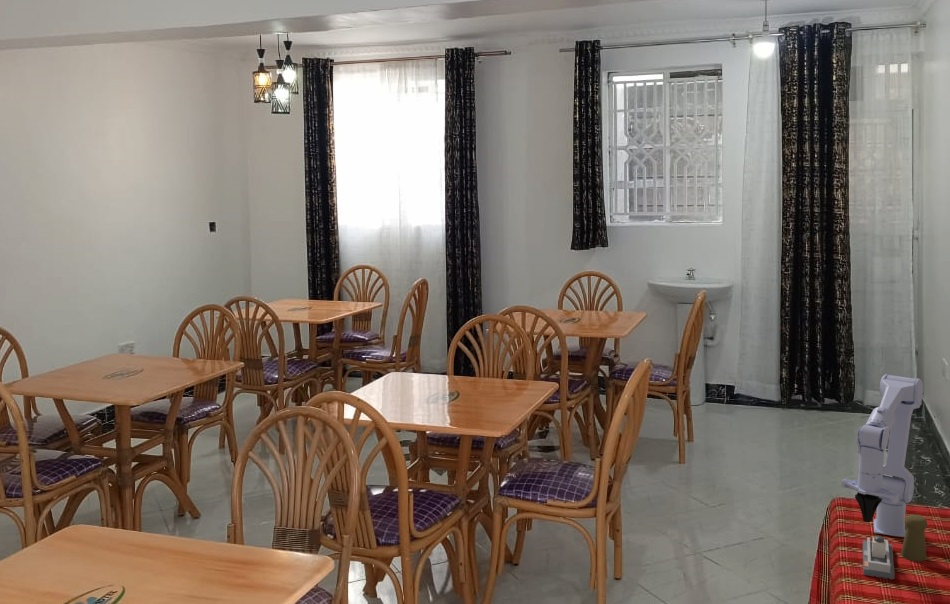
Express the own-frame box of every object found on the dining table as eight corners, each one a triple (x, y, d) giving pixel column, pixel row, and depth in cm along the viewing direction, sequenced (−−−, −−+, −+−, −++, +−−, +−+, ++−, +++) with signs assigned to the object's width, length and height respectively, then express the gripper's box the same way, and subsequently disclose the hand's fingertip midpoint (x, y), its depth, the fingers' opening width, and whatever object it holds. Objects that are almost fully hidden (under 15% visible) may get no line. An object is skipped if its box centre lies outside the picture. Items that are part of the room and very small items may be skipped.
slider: (871, 551, 224) (872, 534, 224) (884, 553, 223) (885, 536, 223) (871, 556, 222) (872, 539, 221) (884, 558, 221) (885, 541, 220)
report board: (862, 545, 232) (863, 533, 231) (891, 549, 229) (892, 537, 229) (863, 574, 216) (864, 561, 215) (894, 579, 213) (895, 566, 212)
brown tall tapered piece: (929, 562, 222) (932, 522, 220) (904, 560, 223) (907, 520, 221) (922, 551, 228) (925, 512, 226) (897, 550, 229) (900, 511, 227)
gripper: (835, 466, 224) (833, 515, 227) (890, 483, 213) (886, 534, 215) (850, 460, 228) (847, 508, 231) (904, 476, 217) (901, 526, 219)
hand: (867, 520), depth 223 cm, fingers closed
